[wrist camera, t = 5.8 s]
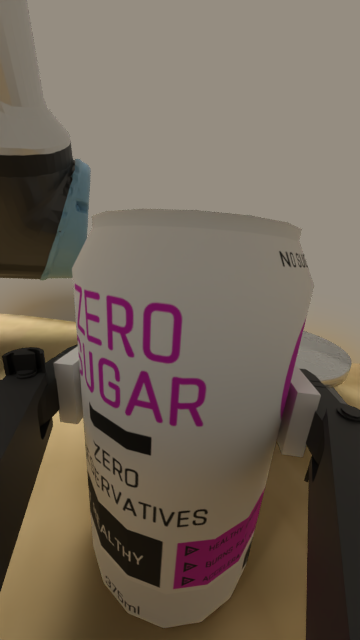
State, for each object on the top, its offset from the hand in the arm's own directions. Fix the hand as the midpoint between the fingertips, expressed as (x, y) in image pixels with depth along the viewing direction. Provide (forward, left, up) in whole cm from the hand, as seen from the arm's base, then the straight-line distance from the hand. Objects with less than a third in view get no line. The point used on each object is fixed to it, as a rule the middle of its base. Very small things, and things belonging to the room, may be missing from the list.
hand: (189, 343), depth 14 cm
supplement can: (+1, -5, -9) cm, 10 cm away
